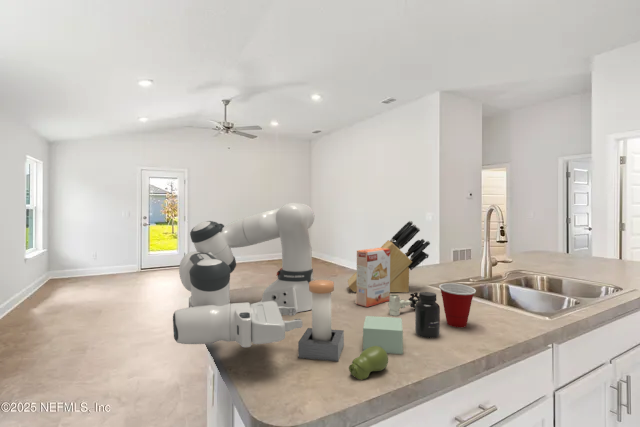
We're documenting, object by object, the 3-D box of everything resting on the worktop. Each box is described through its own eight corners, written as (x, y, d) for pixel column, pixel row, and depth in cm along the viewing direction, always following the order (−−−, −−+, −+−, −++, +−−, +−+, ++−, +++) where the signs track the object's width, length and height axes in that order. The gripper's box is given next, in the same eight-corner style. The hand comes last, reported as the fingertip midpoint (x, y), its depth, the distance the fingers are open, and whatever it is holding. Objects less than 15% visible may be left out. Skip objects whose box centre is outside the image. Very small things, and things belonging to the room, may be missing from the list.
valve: (395, 318, 114) (423, 313, 119) (395, 298, 114) (423, 294, 119) (383, 312, 120) (410, 308, 125) (383, 294, 120) (410, 290, 125)
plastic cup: (457, 333, 100) (457, 292, 100) (431, 321, 110) (431, 285, 110) (484, 327, 104) (484, 288, 104) (457, 317, 114) (457, 281, 114)
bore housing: (298, 358, 85) (298, 342, 85) (308, 342, 95) (307, 327, 94) (338, 361, 83) (338, 345, 83) (343, 344, 92) (343, 330, 92)
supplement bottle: (436, 340, 95) (436, 297, 95) (412, 335, 98) (412, 294, 98) (442, 332, 101) (442, 292, 100) (419, 328, 104) (418, 289, 104)
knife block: (431, 293, 145) (431, 221, 144) (348, 293, 146) (348, 221, 146) (424, 287, 156) (424, 220, 156) (347, 287, 158) (347, 220, 157)
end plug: (307, 355, 86) (306, 284, 86) (312, 345, 92) (312, 279, 92) (332, 357, 85) (331, 285, 84) (336, 347, 91) (335, 280, 91)
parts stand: (363, 351, 88) (363, 328, 88) (366, 336, 98) (365, 315, 98) (402, 354, 86) (402, 330, 86) (401, 339, 96) (401, 317, 96)
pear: (391, 347, 77) (358, 366, 72) (394, 369, 78) (361, 389, 73) (374, 339, 82) (342, 356, 77) (377, 359, 83) (345, 378, 77)
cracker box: (367, 308, 125) (367, 251, 125) (355, 304, 130) (355, 250, 130) (391, 300, 135) (391, 248, 134) (379, 297, 139) (378, 246, 139)
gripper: (242, 320, 94) (292, 316, 97) (243, 351, 74) (306, 344, 77) (242, 297, 93) (292, 294, 97) (243, 322, 74) (306, 317, 77)
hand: (298, 316), depth 87 cm, fingers open, 8 cm apart
